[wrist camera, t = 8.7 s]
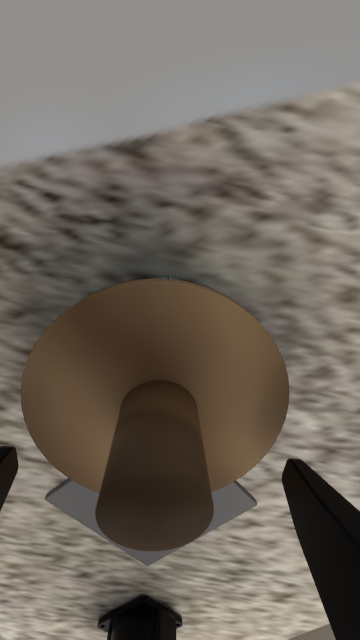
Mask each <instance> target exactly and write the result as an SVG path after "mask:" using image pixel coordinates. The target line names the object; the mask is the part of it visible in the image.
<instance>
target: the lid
mask: <svg viewBox="0 0 360 640" xmlns="http://www.w3.org/2000/svg"><path fill="white" fill-rule="evenodd" d="M288 404H289V381H288V375H287V370H286V366H285V363H284V360H283V358H282V356H281V353H280V351H279V349H278V347H277V345H276V344H275V342H274V341H273V339H272V338H271V336H270V335H269V333H268V332H267V331H266V330H265V329H264V328H263V327H262V325H261V324H260V323H259V322H258V321H257V320H256V319H255V318H254V317H253V316H252V315H251V314H250V313H249V312H248V311H247V310H245V309H244V308H243V307H242V306H241V305H240V304H238V303H237V302H235V301H233V300H232V299H230V298H229V297H227V296H225V295H224V294H221V293H219V292H217V291H215V290H213V289H210V288H208V287H205V286H202V285H198V284H195V283H192V282H187V281H181V280H174V279H156V278H151V279H141V280H132V281H127V282H123V283H119V284H115V285H112V286H109V287H106V288H104V289H101V290H98V291H96V292H94V293H92V294H90V295H89V296H87V297H85V298H83V299H81V300H80V301H78V302H77V303H76V304H74V305H73V306H72V307H70V308H69V309H68V310H66V311H65V312H64V313H63V314H62V315H60V316H59V317H58V318H57V319H56V320H55V321H54V322H53V323H52V324H51V325H50V326H49V327H48V328H47V329H46V330H45V331H44V333H43V334H42V336H41V337H40V338H39V340H38V341H37V343H36V344H35V345H34V347H33V349H32V351H31V353H30V356H29V358H28V360H27V362H26V366H25V369H24V373H23V376H22V385H21V406H22V411H23V415H24V420H25V423H26V425H27V428H28V431H29V433H30V435H31V437H32V439H33V440H34V442H35V444H36V446H37V447H38V449H39V450H40V451H41V452H42V454H43V455H44V456H45V458H46V459H47V460H48V461H49V462H50V463H51V464H52V465H53V466H54V467H55V468H56V469H58V470H59V471H60V472H61V473H63V474H64V475H65V476H67V477H68V478H70V479H71V480H73V481H74V482H76V483H78V484H79V485H81V486H83V487H85V488H87V489H89V490H92V491H94V492H97V493H99V497H98V501H97V505H96V510H95V517H96V521H97V524H98V526H99V528H100V530H101V531H102V532H103V534H105V535H106V536H107V537H108V538H109V539H110V540H112V541H113V542H115V543H117V544H119V545H121V546H124V547H127V548H130V549H134V550H139V551H165V550H170V549H174V548H178V547H181V546H183V545H186V544H188V543H190V542H192V541H193V540H195V539H197V538H198V537H199V536H200V535H202V534H203V533H204V532H205V531H206V529H207V528H208V527H209V525H210V523H211V521H212V518H213V515H214V505H213V499H212V493H211V492H214V491H216V490H218V489H221V488H223V487H225V486H227V485H228V484H230V483H232V482H234V481H235V480H237V479H238V478H240V477H241V476H243V475H244V474H246V473H247V472H248V471H249V470H251V469H252V468H253V467H254V466H255V465H256V464H257V463H258V462H259V461H260V460H261V459H262V458H263V457H264V456H265V455H266V453H267V452H268V451H269V449H270V448H271V447H272V445H273V444H274V442H275V441H276V439H277V437H278V435H279V433H280V431H281V429H282V426H283V424H284V421H285V418H286V414H287V409H288Z"/></svg>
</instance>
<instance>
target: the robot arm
mask: <svg viewBox="0 0 360 640" xmlns="http://www.w3.org/2000/svg"><path fill="white" fill-rule="evenodd" d="M17 471H18V459H17V452H16V448H15V447H13V446H1V447H0V511H1V509H2V506H3V504H4V502H5V499H6V497H7V495H8V492H9V490H10V488H11V485H12V483H13V481H14V479H15V476H16V474H17ZM282 483H283V487H284V491H285V494H286V498H287V501H288V505H289V509H290V512H291V516H292V519H293V523H294V526H295V530H296V533H297V536H298V539H299V542H300V545H301V547H302V550H303V553H304V555H305V558H306V561H307V563H308V566H309V569H310V571H311V574H312V577H313V579H314V582H315V585H316V587H317V590H318V593H319V596H320V598H321V601H322V604H323V606H324V609H325V612H326V614H327V617H328V620H329V622H330V625H331V628H332V630H333V633H334V636H335V638H336V640H360V511H359V510H357V509H356V508H355V507H354V506H353V505H352V504H351V503H350V502H348V501H347V500H346V499H345V498H344V497H343V496H342V495H341V494H339V493H338V492H337V491H336V490H335V489H334V488H333V487H332V486H330V485H329V484H328V483H327V482H326V481H325V480H324V479H323V478H321V477H320V476H319V475H318V474H317V473H316V472H315V471H314V470H312V469H311V468H310V467H309V466H308V465H307V464H306V463H305V462H303V461H302V460H301V459H293V458H290V459H288V460H287V462H286V465H285V468H284V471H283V474H282ZM181 626H182V618H181V617H179V616H177V615H176V614H174V613H172V612H171V611H169V610H167V609H166V608H164V607H162V606H161V605H159V604H157V603H155V602H154V601H152V600H150V599H149V598H147V597H140V598H138V599H136V600H135V601H133V602H131V603H129V604H127V605H125V606H123V607H121V608H119V609H118V610H116V611H114V612H112V613H110V614H108V615H106V616H104V617H102V618H101V619H99V621H98V628H100V629H102V630H104V631H106V632H108V637H107V640H176V629H177V628H179V627H181Z"/></svg>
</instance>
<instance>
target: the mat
mask: <svg viewBox="0 0 360 640" xmlns="http://www.w3.org/2000/svg"><path fill="white" fill-rule="evenodd" d="M211 493H212V499H213V505H214V515H213V518H212V521H211V523H210V525H209V527H208V528H207V529H206V531H205V532H204V533H203V534H202V535H204V534H206V533H208V532H210V531H211V530H213V529H215V528H217V527H219V526H220V525H222V524H224V523H226V522H228V521H229V520H231V519H233V518H235V517H237V516H238V515H240V514H242V513H244V512H246V511H247V510H249V509H251V508H253V507H255V506H256V505H257V502H256V500H255V499H254V498H253V497H252V496H251V495H250V494H249V493H248V492H247V491H246V490H245V489H244V488H243V487H242V486H241V485H240V484H238V483H237V482H236V481H234V482H232V483H230V484H228V485H227V486H225V487H223V488H221V489H218V490H216V491H214V492H211ZM98 497H99V493H97V492H94V491H92V490H89V489H87V488H85V487H83V486H81V485H79V484H78V483H76V482H74V481H73V480H71V479H68V480H67V481H65V482H64V483H62V484H61V485H60V486H58V487H57V488H55V489H54V490H52V491H51V492H49V493H48V494H47V495H46V497H45V500H46V501H48V502H49V503H51V504H53V505H54V506H56V507H57V508H59V509H60V510H62V511H63V512H65V513H66V514H68V515H69V516H71V517H73V518H74V519H76V520H77V521H79V522H80V523H82V524H83V525H85V526H86V527H88V528H90V529H91V530H93V531H94V532H96V533H97V534H99V535H100V536H102V537H103V538H105V539H107V540H108V541H110V542H111V543H113V544H114V545H116V546H117V547H119V548H120V549H122V550H123V551H125V552H127V553H128V554H130V555H131V556H133V557H134V558H136V559H137V560H139V561H140V562H142V563H144V564H145V565H147V566H148V565H150V564H152V563H154V562H156V561H157V560H159V559H161V558H163V557H165V556H166V555H168V554H170V553H172V552H174V551H175V550H177V549H179V548H181V547H183V546H184V545H183V546H181V547H178V548H174V549H170V550H165V551H139V550H134V549H130V548H127V547H124V546H121V545H119V544H117V543H115V542H113V541H112V540H110V539H109V538H108V537H107V536H106V535H105V534H103V532H102V531H101V530H100V528H99V526H98V524H97V521H96V517H95V510H96V505H97V501H98ZM202 535H200V536H199V537H201V536H202ZM199 537H198V538H199Z"/></svg>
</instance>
